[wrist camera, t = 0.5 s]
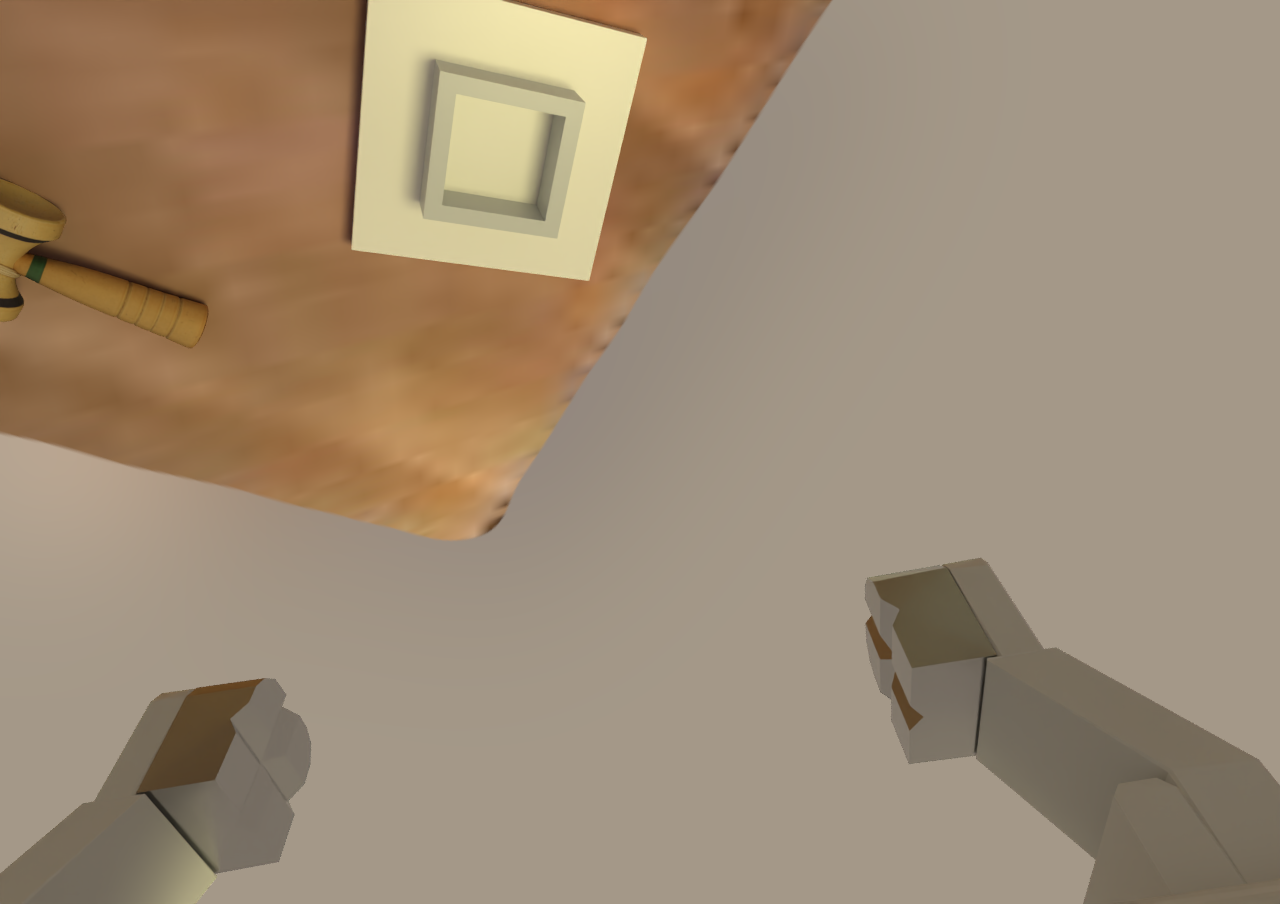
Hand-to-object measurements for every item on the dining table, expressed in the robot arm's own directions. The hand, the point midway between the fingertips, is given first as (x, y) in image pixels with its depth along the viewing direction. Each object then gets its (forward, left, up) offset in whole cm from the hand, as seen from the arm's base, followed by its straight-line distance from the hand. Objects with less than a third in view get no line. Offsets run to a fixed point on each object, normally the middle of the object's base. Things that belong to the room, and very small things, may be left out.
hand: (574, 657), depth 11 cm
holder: (+5, +6, -46) cm, 47 cm away
